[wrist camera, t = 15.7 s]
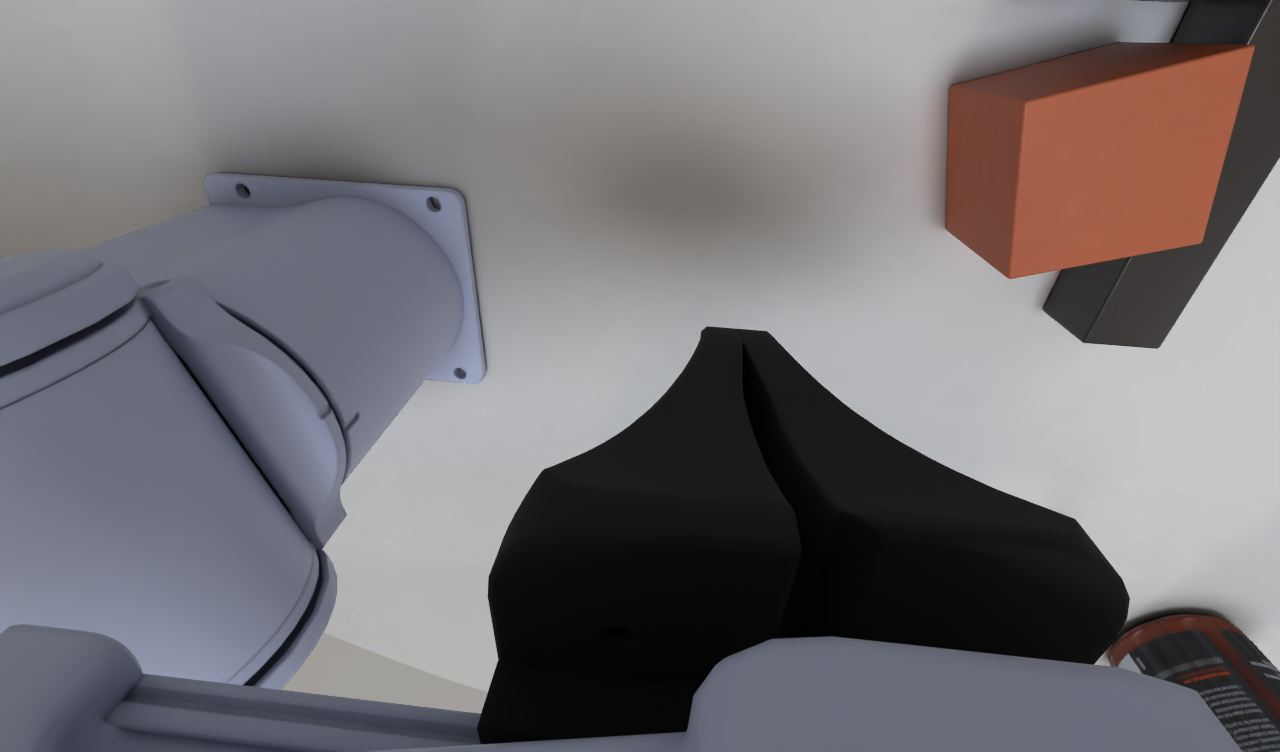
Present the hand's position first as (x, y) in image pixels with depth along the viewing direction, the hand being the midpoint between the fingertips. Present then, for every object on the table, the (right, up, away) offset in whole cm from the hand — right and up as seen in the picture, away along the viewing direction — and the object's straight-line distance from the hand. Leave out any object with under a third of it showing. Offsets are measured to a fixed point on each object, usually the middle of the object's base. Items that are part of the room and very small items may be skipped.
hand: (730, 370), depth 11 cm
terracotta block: (+10, +7, +6) cm, 14 cm away
